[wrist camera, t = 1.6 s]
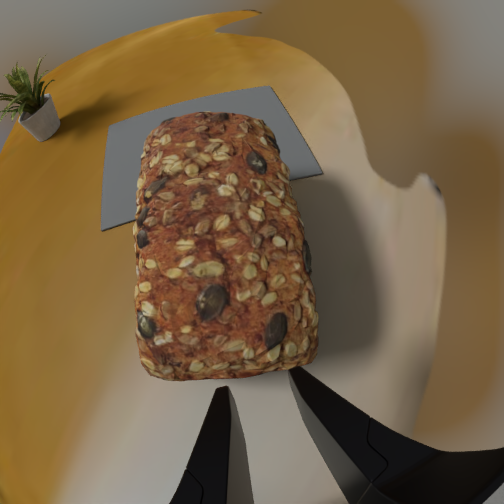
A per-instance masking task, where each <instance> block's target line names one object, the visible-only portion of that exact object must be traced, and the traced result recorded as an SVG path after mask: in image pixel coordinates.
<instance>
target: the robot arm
mask: <svg viewBox="0 0 504 504" xmlns="http://www.w3.org/2000/svg"><path fill="white" fill-rule="evenodd" d="M288 375H289V380H290V385H291V388H292V391H293V394H294V397H295V400H296V402H297V405H298V408H299V411H300V413H301V416H302V419H303V421H304V424H305V426H306V428H307V430H308V432H309V433H310V435H311V437H312V439H313V441H314V443H315V444H316V446H317V448H318V450H319V452H320V453H321V455H322V457H323V459H324V461H325V462H326V464H327V466H328V468H329V470H330V471H331V473H332V475H333V477H334V478H335V480H336V482H337V484H338V485H339V487H340V489H341V490H342V492H343V494H344V496H345V497H346V499H347V501H348V502H349V504H504V447H503V448H499V449H493V450H482V451H465V452H447V451H441V450H437V449H434V448H431V447H429V446H427V445H424V444H422V443H419V442H417V441H415V440H412V439H410V438H408V437H405V436H403V435H401V434H399V433H397V432H395V431H393V430H391V429H389V428H388V427H386V426H384V425H383V424H381V423H380V422H378V421H376V420H375V419H373V418H372V417H371V418H370V416H369V415H367V414H366V413H364V412H363V411H361V410H360V409H359V408H357V407H356V406H354V405H353V404H351V403H350V402H348V401H347V400H346V399H344V398H343V397H341V396H340V395H339V394H337V393H336V392H334V391H333V390H332V389H330V388H329V387H327V386H326V385H325V384H323V383H322V382H321V381H319V380H318V379H317V378H315V377H314V376H312V375H311V374H310V373H308V372H307V371H306V370H305V369H303V368H302V367H300V366H296V367H293V368H290V369H288ZM186 468H187V469H185V471H184V474H183V476H182V479H181V481H180V483H179V486H178V488H177V490H176V492H175V494H174V496H173V498H172V500H171V501H170V503H169V504H254V501H253V494H252V487H251V480H250V473H249V465H248V458H247V450H246V443H245V438H244V433H243V430H242V426H241V422H240V418H239V415H238V411H237V407H236V403H235V400H234V398H233V395H232V393H231V391H230V389H229V387H228V386H223V387H219V388H217V389H216V390H215V393H214V395H213V398H212V401H211V403H210V406H209V409H208V411H207V414H206V417H205V419H204V422H203V425H202V427H201V430H200V433H199V435H198V438H197V440H196V443H195V446H194V448H193V451H192V453H191V456H190V459H189V461H188V464H187V466H186Z"/></svg>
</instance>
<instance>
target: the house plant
mask: <svg viewBox="0 0 504 504" xmlns="http://www.w3.org/2000/svg"><path fill="white" fill-rule="evenodd" d="M40 63H41V61H40ZM40 63H39V65H40ZM39 65H38V64H37V69H36V73H35V76H34V88H33V93H32V88H31V84H30V81H29V77H28V74H27V72H26V70H25V69H24V68H23V67H22V71H23V72H22V71H21V69H19V68H18V66H17V64H16V72H15V70H14V68H13V69H12V75H13V77H12V76H11V75H9V74H5V75H4V76H5V77H6V78H7V79H8V81H9V83H10V85H11V86H12V87H13V88H14V89H15V91H16V92H17V93H18V94H17V95H16V96H14V95H7V94H3V93H0V95H3V96H0V98H1V97H10V98H14V99H10V98H1V99H0V100H8V101H11V102H10V103H9V104H8V105H7V107H6V108H5V109H4V110H3V111H0V112H4V113H3V115H2V116H1V119H0V121H1V120H2V118H3V116H4V115H5V113H6V112H14V113H13V114H12V115H11V117H12V120H13V118H14V116H15V114H16V112H19V114H20V117H19V123H20V124H21V125H22V126H23V127H24V128H25V129H27V130H28V131H29V132H30V133H31V134H32V135H33V136H34V137H35V138H36V139H37V140H38V141H40V142H42V141H45V140H47V139H48V138H49V137H51V136H52V135H53V134H54V133H55V132H56V131H57V129H58V128H59V126H60V120H59V118H58V115H57V112H56V109H55V106H54V103H53V101H52V97H51V95H50V94H45V95H44V91H45V89H46V87H47V85H48V84H49V83H50V82H52V81H55V80H51V81H50V82H49V83H48V84H47V85H46V86H45V88H44V90H43V92H42V96H41V97H40V94H41V90H42V86H43V83H44V82H45V81H42V82H40V83H39V81H40V79H41V77H42V75H43V74H44V73H43V74H42V75H41V76H40V77H39V79H38V81H37V74H38V69H39ZM45 72H46V71H45ZM20 76H21V78H20ZM21 79H22V81H21ZM22 82H23V83H22ZM36 82H37V84H36ZM35 93H36V96H35ZM36 98H37V99H36ZM19 101H21V102H22V103H21V102H19ZM13 103H18V104H20V106H15V107H19V108H18V109H14V110H9V109H11V108H13V107H11V108H9V109H7V108H8V107H10V106H11V105H12V104H13ZM6 109H7V110H6ZM22 112H23V113H22ZM21 113H22V114H21Z"/></svg>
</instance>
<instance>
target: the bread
mask: <svg viewBox="0 0 504 504" xmlns="http://www.w3.org/2000/svg"><path fill="white" fill-rule="evenodd" d="M143 151H144V152H143V154H142V155H141V171H140V173H139V178H138V181H137V187H138V190H137V191H136V206H137V212H136V214H135V219H136V222H135V224H134V227H133V236H134V239H135V242H136V243H135V244H134V245H135V252H136V271H137V280H138V283H137V285H136V287H135V312H136V319H137V326H136V331H135V334H136V338H137V343H138V348H139V355H140V359H141V364H142V366H143V367H144V368H145V370H146V371H147V372H148V373H149V375H150V376H154V377H157V378H161V379H163V380H167V381H187V380H204V379H231V378H246V377H251V376H256V375H260V374H263V373H266V372H272V371H280V370H288V369H290V368H292V367H296V366H303V365H306V364H309V363H311V362H312V361H313V360H314V358H315V357H316V355H317V348H318V312H317V311H315V308H316V297H315V291H314V287H313V284H312V282H311V279H310V275H311V272H312V271H311V267H310V266H311V255H310V250H309V246H308V244H307V241H306V240H305V238H304V224H303V221H302V220H301V219H300V213H299V212H298V209H297V202H296V201H295V200H294V199H293V198H292V188H291V187H290V181H289V176H290V170H289V168H288V166H287V165H286V164H285V163H284V162H283V161H282V160H281V158H280V149H279V146H278V145H277V141H276V138H275V135H274V133H273V132H272V130H271V129H270V127H268V126H266V124H265V123H264V121H263V120H262V119H256V118H252V117H250V116H247V115H242V114H235V113H227V112H217V113H216V112H211V111H204V112H195V113H191V114H186V115H183V116H180V117H172V118H169V119H166V120H164V121H162V122H161V124H160V125H159V126H158V127H157V128H155V129H153V130H152V131H151V132H150V134H149V135H148V136H147V138H146V140H145V142H144V147H143Z"/></svg>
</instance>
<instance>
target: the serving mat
mask: <svg viewBox="0 0 504 504" xmlns="http://www.w3.org/2000/svg"><path fill="white" fill-rule="evenodd" d="M204 111H211V112H216V113H217V112H227V113H235V114H242V115H247V116H250V117H252V118H256V119H262V120H263V121H264V123H265V124H266V126H268V127H270V129H271V130H272V132H273V133H274V135H275V138H276V141H277V145H278V146H279V149H280V158H281V160H282V161H283V162H284V163H285V164H286V165H287V166H288V168H289V170H290V176H289V181H290V180H295V179H300V178H305V177H310V176H316V175H321V174H322V171H321V169H320V167H319V165H318V163H317V162H316V160H315V158H314V156H313V155H312V153H311V151H310V149H309V148H308V146H307V144H306V142H305V141H304V139H303V137H302V136H301V134H300V132H299V131H298V129H297V127H296V126H295V124H294V122H293V121H292V119H291V118H290V116H289V114H288V113H287V111H286V110H285V108H284V107H283V105H282V104H281V102H280V101H279V99H278V98H277V96H276V95H275V93H274V92H273V90H272V89H271V87H270V86H263V87H255V88H249V89H242V90H236V91H230V92H225V93H220V94H215V95H210V96H206V97H201V98H197V99H193V100H188V101H184V102H181V103H177V104H173V105H170V106H166V107H163V108H159V109H156V110H153V111H149V112H146V113H143V114H140V115H137V116H134V117H131V118H129V119H126V120H123V121H120V122H118V123H115V124H112V125H110V126H109V130H108V137H107V144H106V152H105V161H104V172H103V185H102V204H101V231H105V230H108V229H111V228H114V227H117V226H120V225H123V224H126V223H129V222H132V221H136V219H135V214H136V212H137V206H136V191H137V190H138V187H137V181H138V178H139V173H140V171H141V155H142V154H143V152H144V151H143V147H144V142H145V140H146V138H147V136H148V135H149V134H150V132H151V131H152V130H153V129H155V128H157V127H158V126H159V125H160V124H161V122H162V121H164V120H166V119H169V118H172V117H180V116H183V115H186V114H191V113H195V112H204Z"/></svg>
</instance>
